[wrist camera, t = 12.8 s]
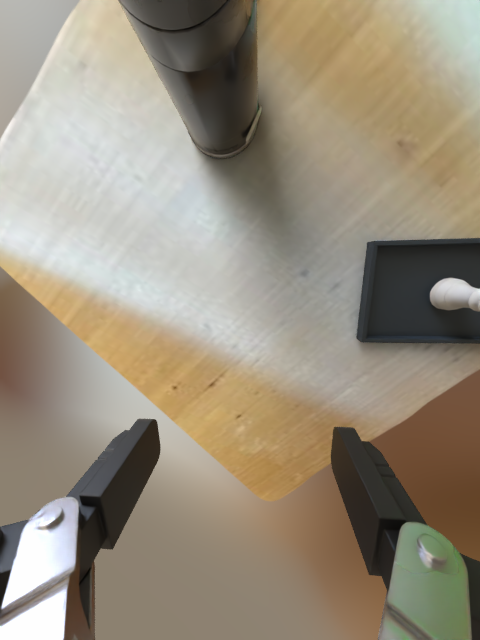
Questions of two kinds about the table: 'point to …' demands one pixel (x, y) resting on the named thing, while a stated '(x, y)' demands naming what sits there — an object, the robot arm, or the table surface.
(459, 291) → the rook chess piece
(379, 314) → the tray
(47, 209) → the table surface
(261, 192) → the table surface
